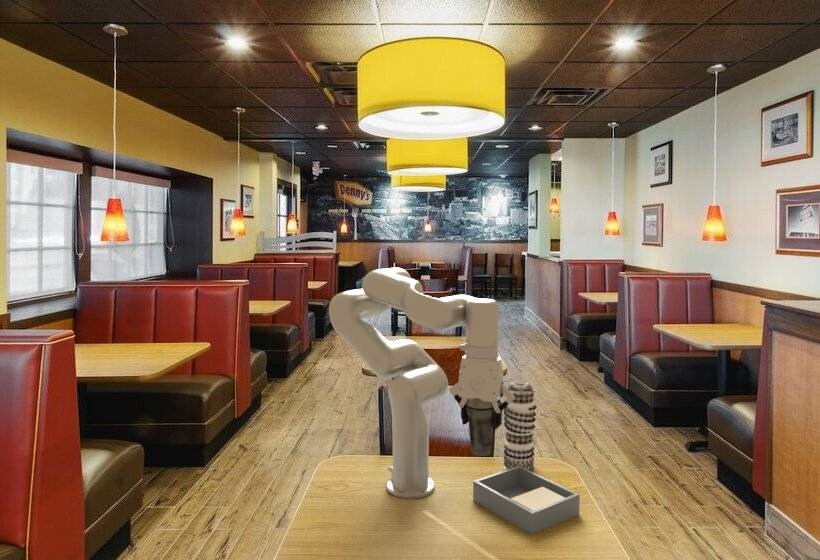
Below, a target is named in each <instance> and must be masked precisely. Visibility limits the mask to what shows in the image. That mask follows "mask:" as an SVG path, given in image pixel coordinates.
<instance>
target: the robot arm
mask: <svg viewBox="0 0 820 560" xmlns="http://www.w3.org/2000/svg"><path fill="white" fill-rule="evenodd" d="M361 285H362V286H361V287H362V288H357V289H350V290H345V291H342V292H339V293H337V294H335V295H334V296H333V297H332V298H331V300H330V302H329V304H328V305H329V306H328V315H329V320H330V323H331V325H332V328H333V329H334V332H336V333H337V335H338V337H340V338H341V339H342V340H343V341H344V342H345V343H347V345H349V347H351V348H352V350H354V352H355V353H356V354H357V355H358V356H359V358H360V359H361V360H362V361H363V362H364V363H365V365H366V366H367V367H368V368H369V369H370V370H371V371H372V372H373V374H375V376H376V377H378V378H379V379H382V380H387V379H389V380H390V379H391V381H390V383H389V386H388V399H389V403H390V409H391V421H392V424H391V425H392V427H391V428H392V430H391V431H392V464H391V465H389V466H388V468H387V470H388V471H389V472H390V473H391V478H390V479H389V480H388V481H387V483H386V490H387V492H389V494H391V495H392V496H395V497H398V498H401V499H410V500H411V499H413V500H414V499H420V498H424V497H427V496H429V495H430V494H432V493H433V492H434V491H435V483H434V481H433V480H432V478H430V477H429V467H430V465H429V464H430V463H429V456H430V454H429V447H430V446H429V445H430V441H429V439H430V438H429V437H430V435H429V430H430V429H429V427H430V426H429V425H430V423H429V419H428V417H427V414H426V412H425V409H424V406H425V405H427V404H430V403H431V402H434V401H437V400H440V399H441V398H442V397H444V396H445V395H446V393H447V391H448V389H449V392H450V393H451V395H452V396H453V398H454V400H455V402H457V403H458V406H459V407H460V419H461V420H462V425H467V424H469V421H468V414H467V408H466V403H467V399H468V400H470V399H473V398H479V399H481V400H482V401H484V402H488V403H492V405H493V407H494V409H495V412H494V413H493V430H497V429H498V428H500V426H502V423H503V421H502V420H503V419H502V418H503V411H504V410H505V409H504V408H506V407H507V406H508V405H509V404H510V403H511V402H512V401H513V400H514V399H515V396H514V395H513V394H512V393H511V392H510V391H509V390H508V389H507V387H506V386H505V385H504V384H505V381H504V379H505V378H504V369H503V364H502V359H501V357H500V356H499V310H500V309H499V303H498V302H497V301H496V300H495V299H492V298H483V297H482V298H479V297H474V296H471V295H467V294H456V295H451V296H444V297H440V298H438V297H432V296H431V295H426V294H424V288H423V286H422V283H421V282H419V280H417V279H413V278H412V277H411V275H410V274H409V272H408V271H407V270H405V269H403V268H401V267H390V268H389V267H388V268H387V267H386V268H378V269H373V270H371V271H369V272H368V273H367V274H366V275H365V276H364V277H363V280H362V284H361ZM392 308H395V309H398V310H400V311H402V312H404V315H405V316H406V317H407V318H408V319H409V320H410V321H412V322H413V323H415V324H418V325H421V326H423V327H426V328H428V329H432V330H434V331H435V330H436V331H444V330H449V329H454V328H457V327H463V326H465V343H464V344H461V345H460V351H464V355H463V356H462V357H461V362H460V366H459V373H458V374H459V375H458V381H457V382H455V384H454V385H452V386H451V387H449V381H448V377H447V375H446V373H445V371H444V370H443V369H442V367H441V366H440V365H439V364H438V363H437V362H436V361H435V360H434V359H433V358H432V357H431V355H429V354H428V353H427V352H426V351H425V350H424V348H423V347H421V345H419V343H418V342H416V341H413V340H412V339H407V338H401V339H397V340H388V339H387V338H386V337H385V336H384V335H383V334H382V333H381V332H380V331H379V330H378V328H376V327H375V326H374V325H372V324H369V322H368V323H367V322H366V321H364V320H365V319H367V318H368V319H369V318H373V317H378V316H381V315H383V314H384V313H386V312H387V311H389V310H390V309H392ZM503 397H505V400H504V401H502V400H501V398H503Z"/></svg>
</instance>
